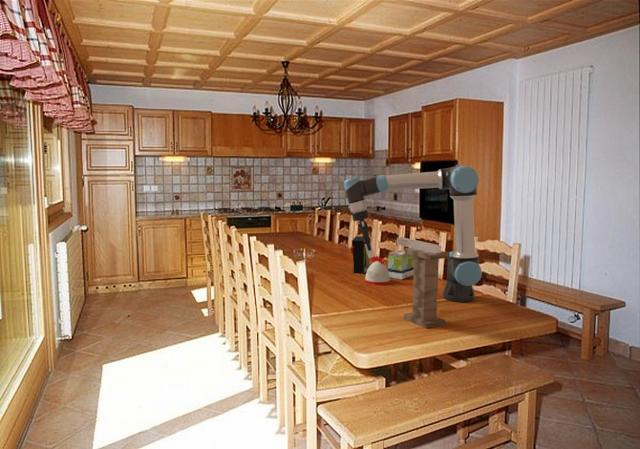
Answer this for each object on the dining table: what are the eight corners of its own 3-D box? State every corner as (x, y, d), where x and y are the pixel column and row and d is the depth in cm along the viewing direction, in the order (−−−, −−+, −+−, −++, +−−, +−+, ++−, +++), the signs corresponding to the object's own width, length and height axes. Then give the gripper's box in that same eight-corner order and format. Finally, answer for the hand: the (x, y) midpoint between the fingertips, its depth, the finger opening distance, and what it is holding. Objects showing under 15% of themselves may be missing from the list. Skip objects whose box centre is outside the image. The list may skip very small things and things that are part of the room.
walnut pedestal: (446, 325, 197) (449, 252, 194) (427, 329, 193) (430, 254, 189) (420, 314, 211) (423, 246, 208) (402, 317, 207) (404, 248, 203)
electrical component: (367, 274, 289) (367, 241, 287) (350, 273, 291) (350, 240, 289) (370, 268, 306) (370, 236, 304) (354, 267, 308) (354, 236, 306)
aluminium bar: (441, 253, 193) (441, 245, 193) (435, 253, 192) (435, 246, 191) (402, 243, 215) (402, 237, 214) (396, 244, 213) (396, 237, 213)
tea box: (402, 279, 275) (403, 254, 274) (387, 277, 281) (387, 252, 280) (414, 275, 287) (415, 250, 285) (399, 272, 293) (400, 248, 292)
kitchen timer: (374, 278, 280) (374, 252, 278) (394, 281, 271) (395, 255, 269) (360, 282, 269) (360, 255, 267) (381, 286, 260) (382, 259, 258)
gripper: (351, 212, 235) (362, 254, 236) (351, 213, 211) (363, 261, 211) (366, 208, 235) (377, 250, 236) (368, 209, 210) (380, 256, 211)
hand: (370, 255), depth 223 cm, fingers open, 13 cm apart
